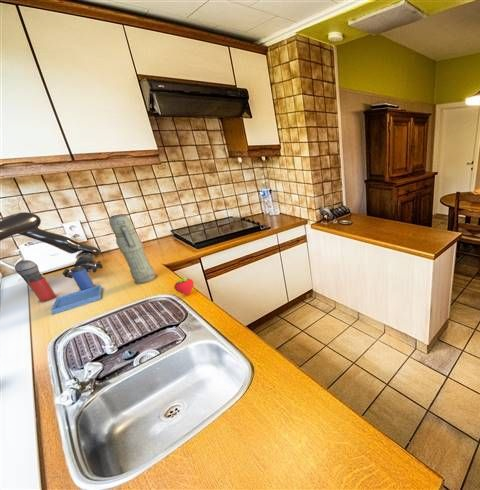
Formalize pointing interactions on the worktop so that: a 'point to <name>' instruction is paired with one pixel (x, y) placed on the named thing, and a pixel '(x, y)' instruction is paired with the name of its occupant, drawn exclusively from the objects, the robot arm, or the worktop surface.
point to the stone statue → (131, 249)
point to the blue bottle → (81, 278)
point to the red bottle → (41, 288)
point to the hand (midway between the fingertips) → (82, 273)
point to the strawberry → (184, 286)
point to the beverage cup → (26, 269)
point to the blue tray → (77, 299)
